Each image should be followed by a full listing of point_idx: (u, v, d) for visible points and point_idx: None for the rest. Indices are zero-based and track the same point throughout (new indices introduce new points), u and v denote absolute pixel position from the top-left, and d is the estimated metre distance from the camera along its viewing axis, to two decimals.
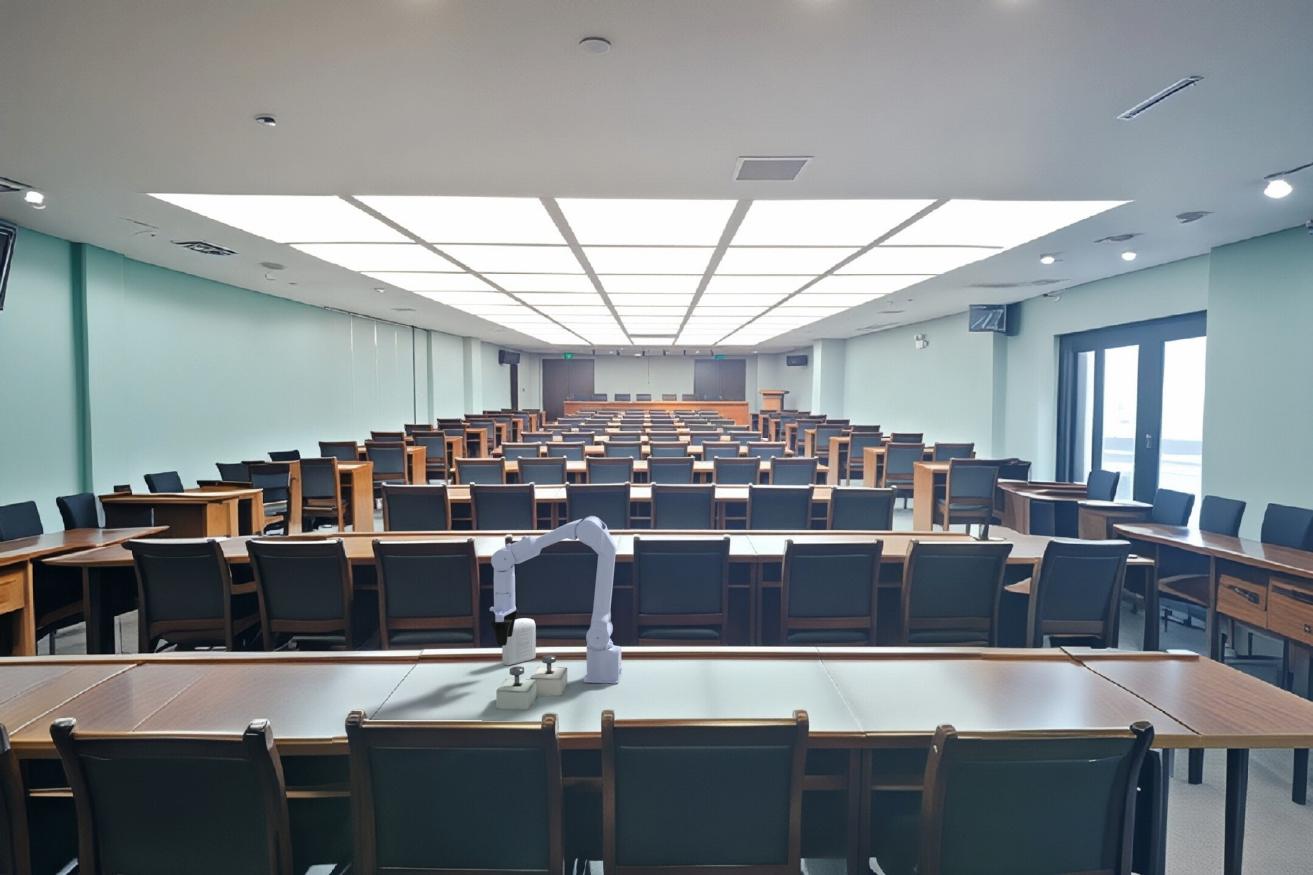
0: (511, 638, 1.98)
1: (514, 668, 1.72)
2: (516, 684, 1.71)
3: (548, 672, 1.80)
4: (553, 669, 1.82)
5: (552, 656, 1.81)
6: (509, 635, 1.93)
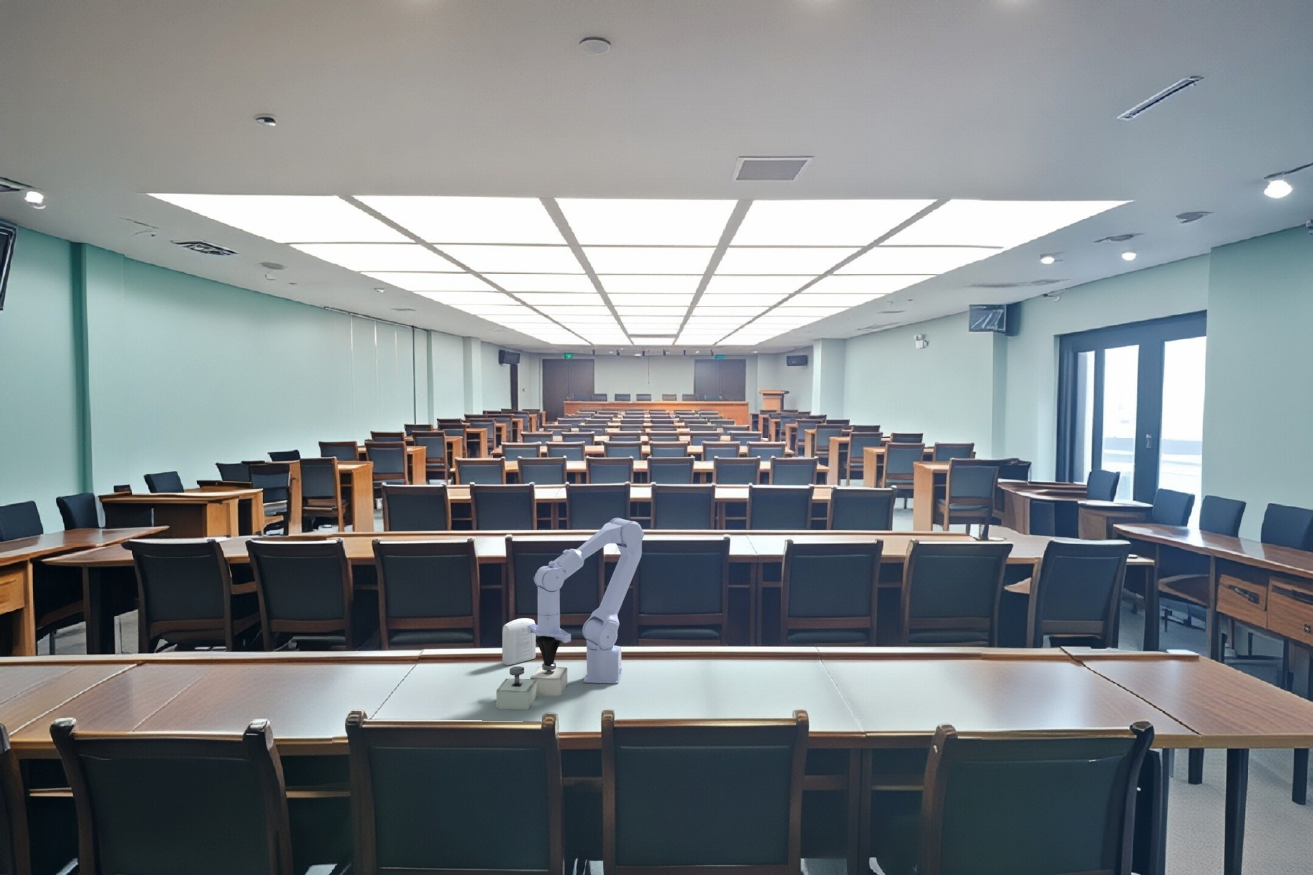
0: (511, 638, 1.98)
1: (514, 668, 1.72)
2: (516, 684, 1.71)
3: None
4: None
5: None
6: None
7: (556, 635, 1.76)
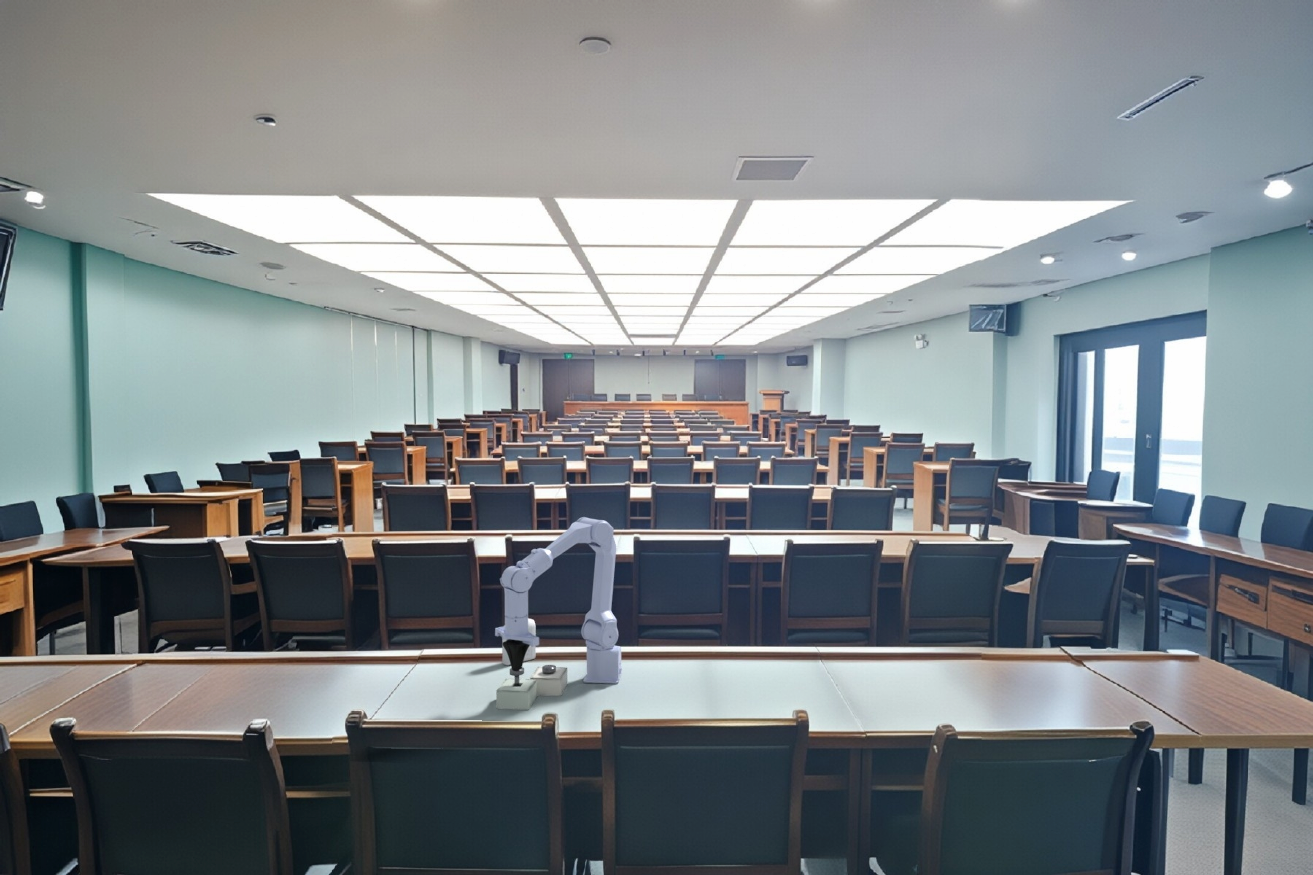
0: None
1: None
2: (516, 684, 1.71)
3: None
4: None
5: (552, 666, 1.81)
6: None
7: (523, 639, 1.67)
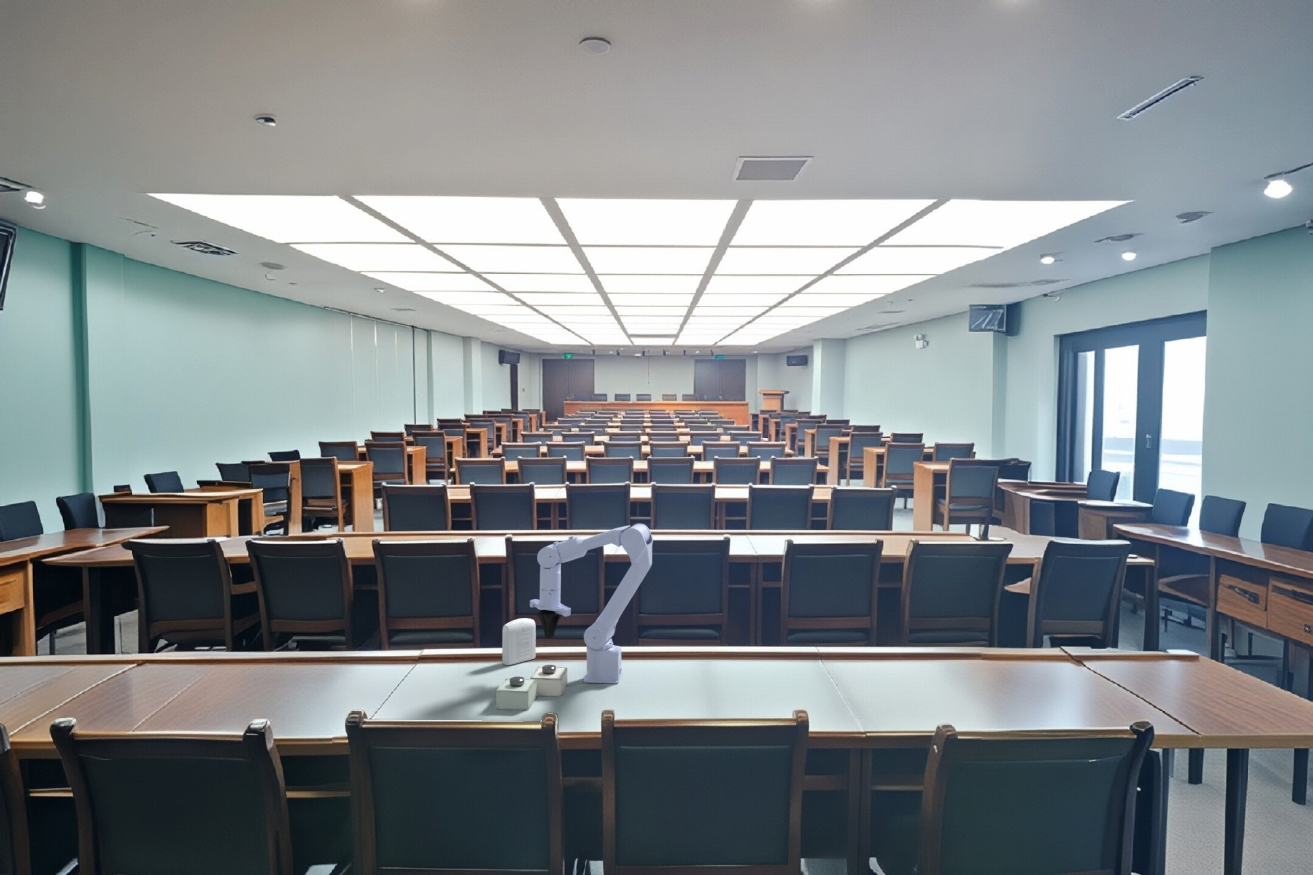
0: (511, 638, 1.98)
1: (514, 678, 1.72)
2: None
3: None
4: None
5: (552, 666, 1.81)
6: None
7: (557, 609, 1.87)
